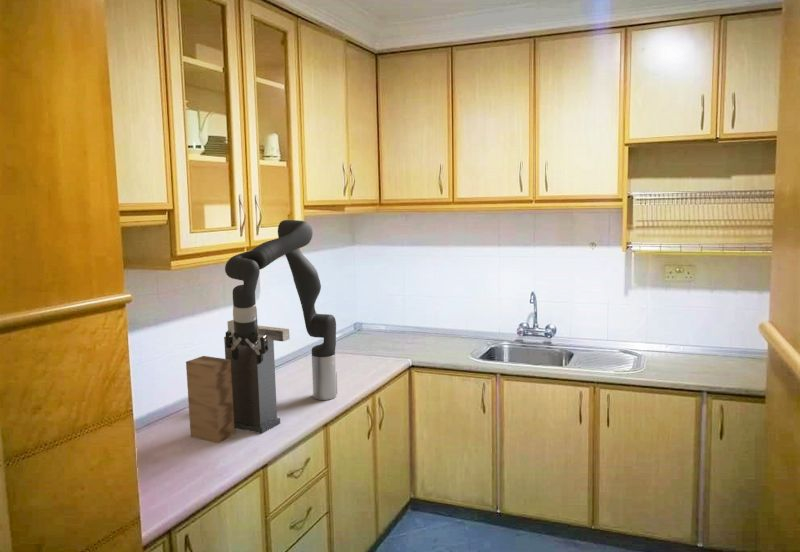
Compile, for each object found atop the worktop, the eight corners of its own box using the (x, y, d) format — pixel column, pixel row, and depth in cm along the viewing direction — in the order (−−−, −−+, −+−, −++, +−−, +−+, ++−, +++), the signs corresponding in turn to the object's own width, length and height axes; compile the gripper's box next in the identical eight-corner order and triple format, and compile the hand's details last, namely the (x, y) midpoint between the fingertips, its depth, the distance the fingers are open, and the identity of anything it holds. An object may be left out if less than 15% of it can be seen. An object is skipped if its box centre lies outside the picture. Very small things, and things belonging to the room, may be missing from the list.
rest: (208, 428, 218) (203, 355, 214) (234, 434, 212) (230, 359, 209) (190, 436, 211) (185, 361, 207) (217, 442, 205) (213, 365, 202)
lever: (238, 332, 222) (237, 318, 221) (290, 338, 211) (290, 324, 211) (228, 335, 217) (227, 321, 217) (281, 342, 207) (281, 327, 206)
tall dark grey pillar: (245, 416, 229) (240, 330, 224) (280, 423, 222) (276, 334, 217) (225, 426, 220) (220, 336, 216) (262, 433, 213) (257, 341, 208)
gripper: (270, 315, 205) (272, 359, 211) (231, 309, 208) (234, 352, 214) (259, 324, 198) (262, 370, 204) (219, 318, 201) (222, 363, 207)
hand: (247, 361), depth 209 cm, fingers open, 8 cm apart
